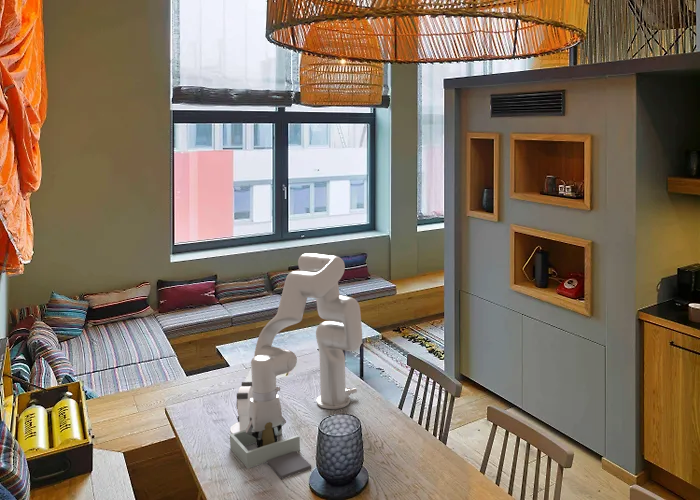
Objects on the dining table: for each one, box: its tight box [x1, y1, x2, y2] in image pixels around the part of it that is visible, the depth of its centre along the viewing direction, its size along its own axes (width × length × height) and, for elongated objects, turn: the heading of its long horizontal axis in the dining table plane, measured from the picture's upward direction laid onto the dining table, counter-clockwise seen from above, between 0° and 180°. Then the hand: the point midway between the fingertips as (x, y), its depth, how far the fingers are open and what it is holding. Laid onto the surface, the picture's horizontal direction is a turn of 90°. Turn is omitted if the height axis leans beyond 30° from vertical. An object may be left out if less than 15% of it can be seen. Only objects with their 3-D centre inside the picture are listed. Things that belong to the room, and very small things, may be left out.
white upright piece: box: [229, 381, 253, 434], centre depth 200 cm, size 12×11×15 cm
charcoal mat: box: [266, 451, 312, 480], centre depth 177 cm, size 10×10×1 cm
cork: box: [260, 422, 275, 447], centre depth 186 cm, size 6×6×11 cm
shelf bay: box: [229, 427, 301, 469], centre depth 187 cm, size 18×14×5 cm
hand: (267, 446), depth 187 cm, fingers closed on cork, 3 cm apart
